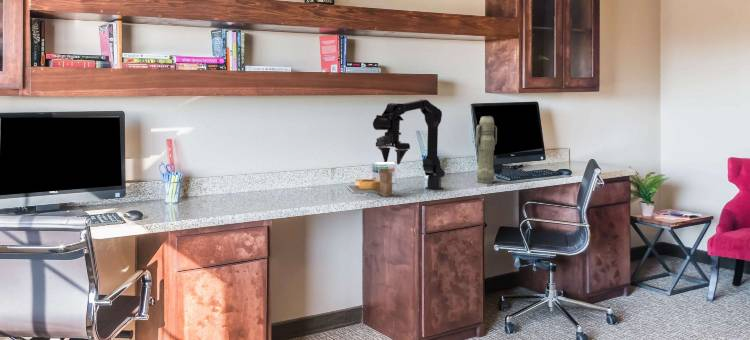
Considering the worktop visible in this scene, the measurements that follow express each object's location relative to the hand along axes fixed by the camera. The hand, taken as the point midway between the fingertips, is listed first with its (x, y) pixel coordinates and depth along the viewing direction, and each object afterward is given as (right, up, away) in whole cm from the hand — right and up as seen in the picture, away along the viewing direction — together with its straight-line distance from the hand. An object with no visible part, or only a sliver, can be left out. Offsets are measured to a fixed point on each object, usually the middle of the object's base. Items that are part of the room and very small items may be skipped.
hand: (391, 163), depth 330 cm
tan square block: (-3, -15, -1) cm, 15 cm away
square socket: (-11, -13, +12) cm, 21 cm away
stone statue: (+51, -10, +42) cm, 67 cm away
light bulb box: (-3, -10, +37) cm, 39 cm away
